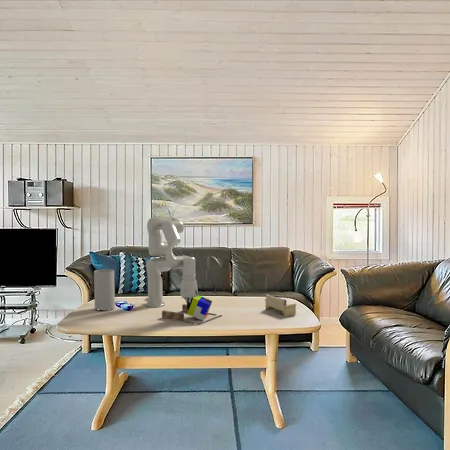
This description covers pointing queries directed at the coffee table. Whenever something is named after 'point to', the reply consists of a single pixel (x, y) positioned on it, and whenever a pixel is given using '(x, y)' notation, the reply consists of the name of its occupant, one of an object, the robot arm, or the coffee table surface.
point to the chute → (175, 314)
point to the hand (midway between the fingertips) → (189, 308)
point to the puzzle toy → (199, 307)
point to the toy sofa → (280, 305)
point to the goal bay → (204, 321)
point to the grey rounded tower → (104, 289)
